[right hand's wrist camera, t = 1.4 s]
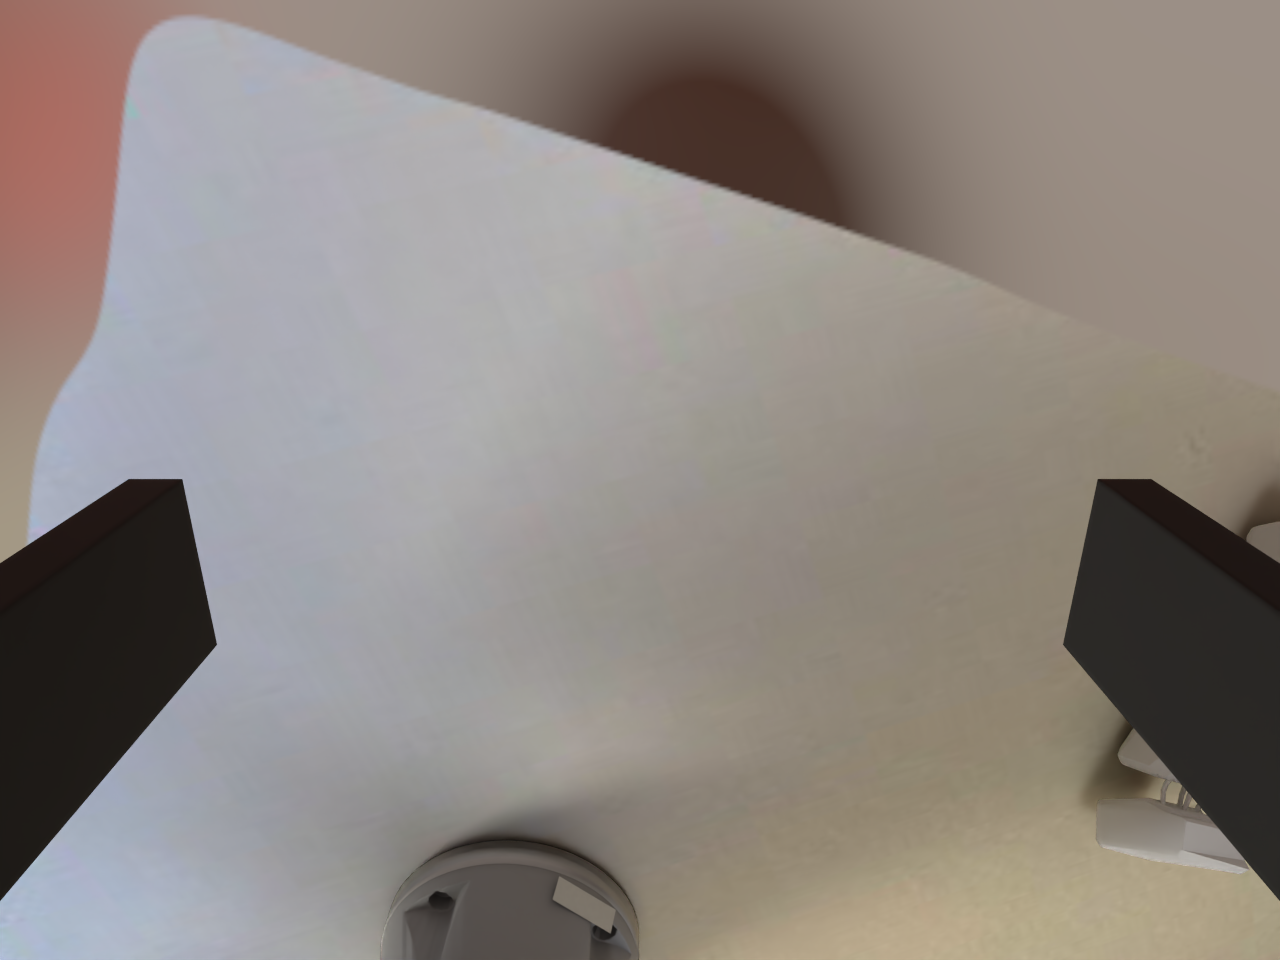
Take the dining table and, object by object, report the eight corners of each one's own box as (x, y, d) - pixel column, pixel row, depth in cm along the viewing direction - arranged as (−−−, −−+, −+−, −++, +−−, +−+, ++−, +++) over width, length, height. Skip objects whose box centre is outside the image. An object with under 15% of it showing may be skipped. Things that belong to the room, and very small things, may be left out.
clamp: (1136, 838, 48) (1217, 934, 42) (1075, 824, 48) (1148, 919, 41) (1303, 513, 43) (1427, 566, 36) (1237, 495, 42) (1350, 545, 36)
